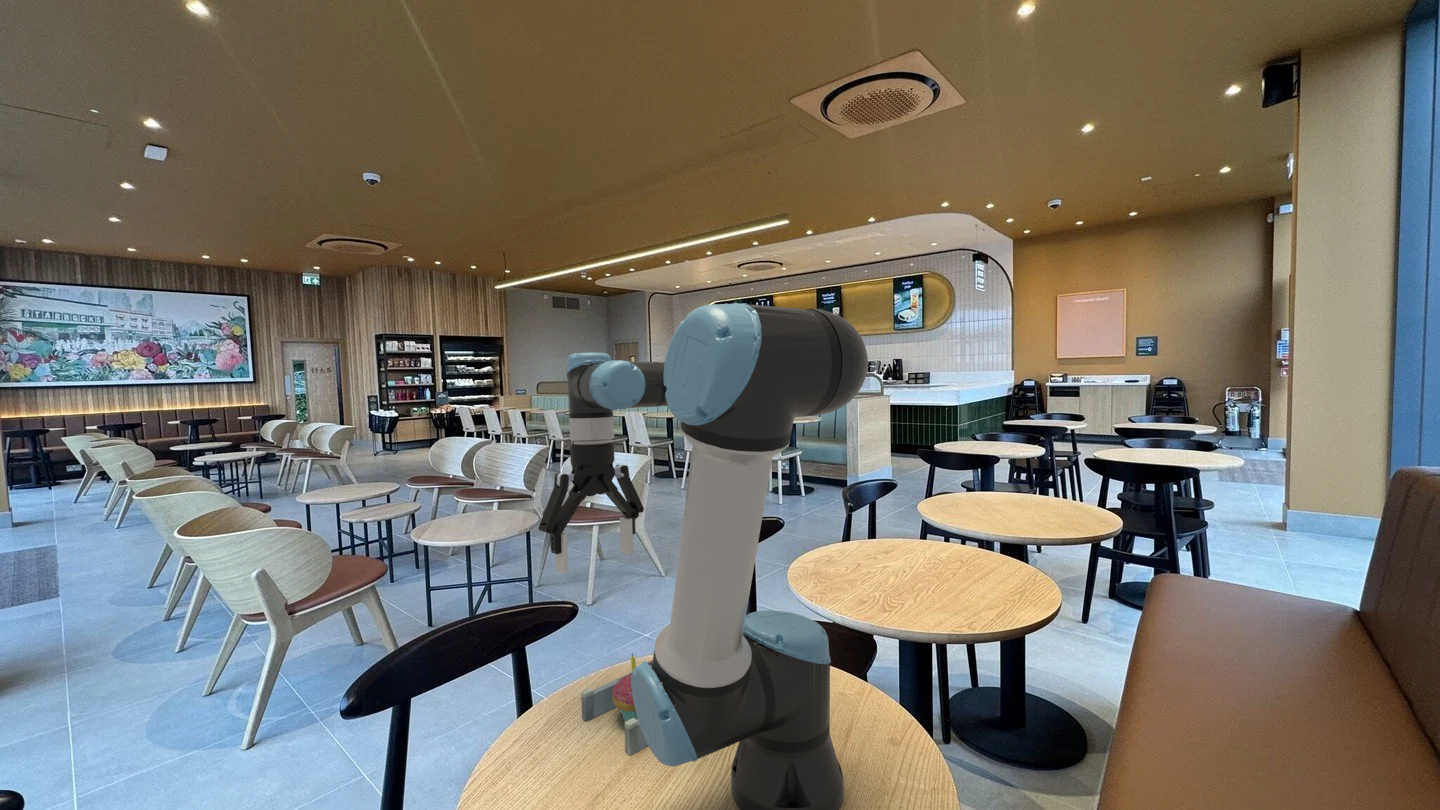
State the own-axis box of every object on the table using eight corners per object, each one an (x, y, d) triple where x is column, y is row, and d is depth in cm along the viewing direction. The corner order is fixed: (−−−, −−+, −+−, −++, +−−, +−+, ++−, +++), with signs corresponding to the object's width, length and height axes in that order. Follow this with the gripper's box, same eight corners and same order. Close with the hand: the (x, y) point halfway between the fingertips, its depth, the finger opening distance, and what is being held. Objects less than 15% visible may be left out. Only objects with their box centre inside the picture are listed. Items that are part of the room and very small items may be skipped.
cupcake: (655, 737, 90) (653, 662, 90) (603, 731, 92) (601, 657, 91) (670, 706, 99) (669, 637, 98) (623, 701, 100) (621, 634, 100)
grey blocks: (699, 716, 96) (699, 688, 96) (630, 755, 86) (629, 725, 86) (649, 686, 105) (649, 661, 105) (582, 718, 96) (581, 691, 95)
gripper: (635, 435, 113) (638, 543, 114) (514, 447, 95) (519, 575, 96) (660, 436, 108) (663, 549, 109) (537, 449, 90) (542, 585, 90)
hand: (596, 562), depth 102 cm, fingers open, 13 cm apart
